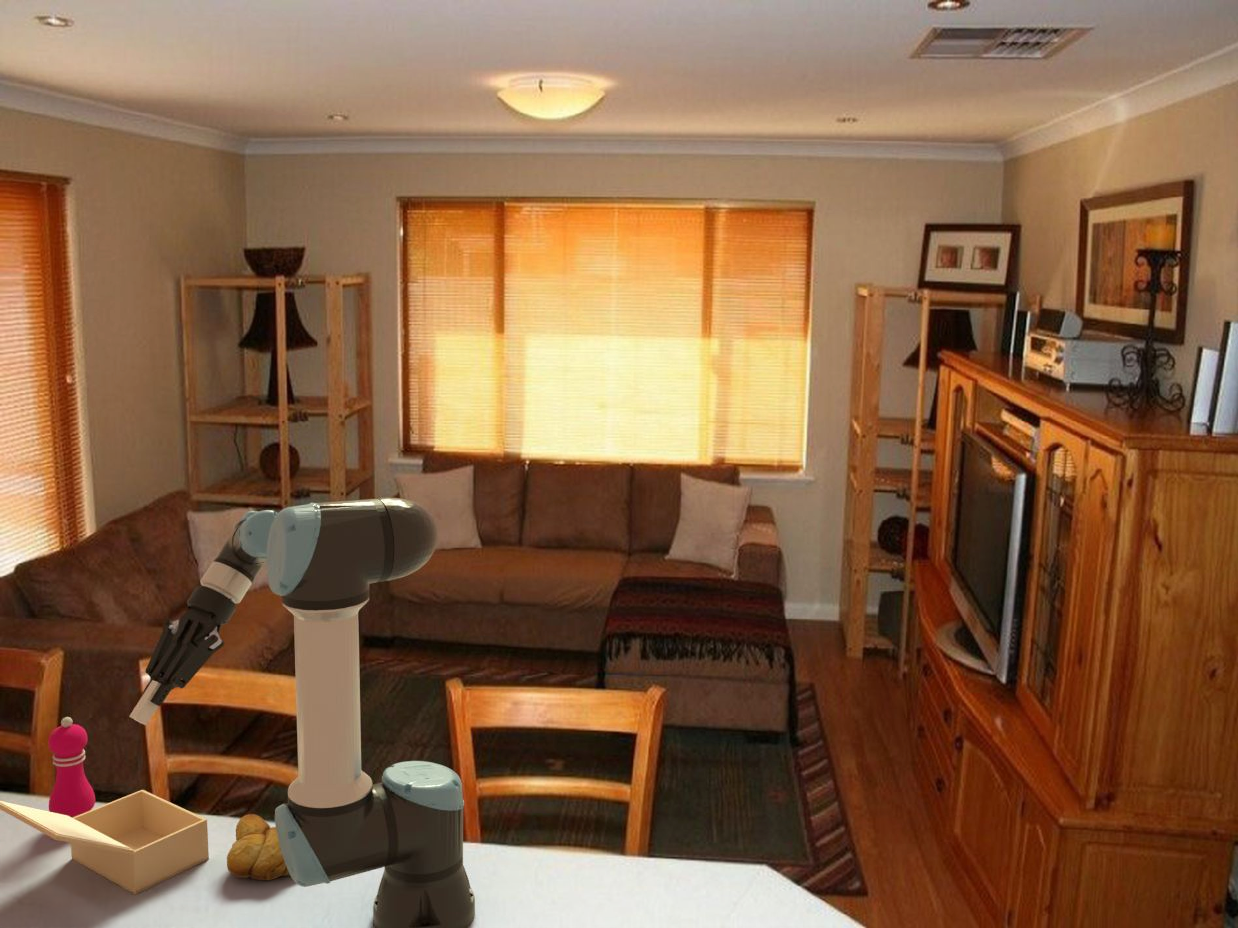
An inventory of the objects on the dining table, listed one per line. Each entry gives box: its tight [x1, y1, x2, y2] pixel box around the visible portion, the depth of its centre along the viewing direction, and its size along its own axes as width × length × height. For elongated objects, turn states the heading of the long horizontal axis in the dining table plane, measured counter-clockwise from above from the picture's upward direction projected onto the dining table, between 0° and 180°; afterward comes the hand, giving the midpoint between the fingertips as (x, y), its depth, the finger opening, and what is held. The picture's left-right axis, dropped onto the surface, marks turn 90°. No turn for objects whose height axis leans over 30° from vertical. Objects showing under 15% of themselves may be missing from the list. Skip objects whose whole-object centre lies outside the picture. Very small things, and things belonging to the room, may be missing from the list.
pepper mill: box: [47, 716, 96, 818], centre depth 186 cm, size 7×7×20 cm
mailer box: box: [70, 789, 210, 895], centre depth 177 cm, size 18×13×7 cm
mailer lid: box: [0, 800, 134, 855], centre depth 166 cm, size 19×14×1 cm
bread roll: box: [226, 813, 290, 881], centre depth 175 cm, size 13×10×8 cm
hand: (137, 720), depth 174 cm, fingers closed
